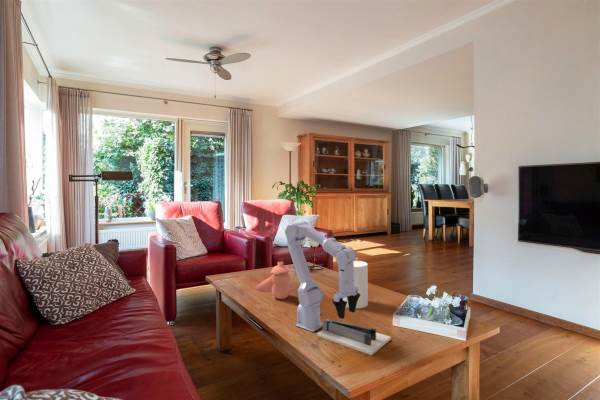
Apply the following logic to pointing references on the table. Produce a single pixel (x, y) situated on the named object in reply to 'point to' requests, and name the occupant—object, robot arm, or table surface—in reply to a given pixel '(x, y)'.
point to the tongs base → (346, 332)
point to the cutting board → (367, 349)
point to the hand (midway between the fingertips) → (346, 314)
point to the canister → (360, 283)
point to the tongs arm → (358, 328)
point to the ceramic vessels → (277, 282)
